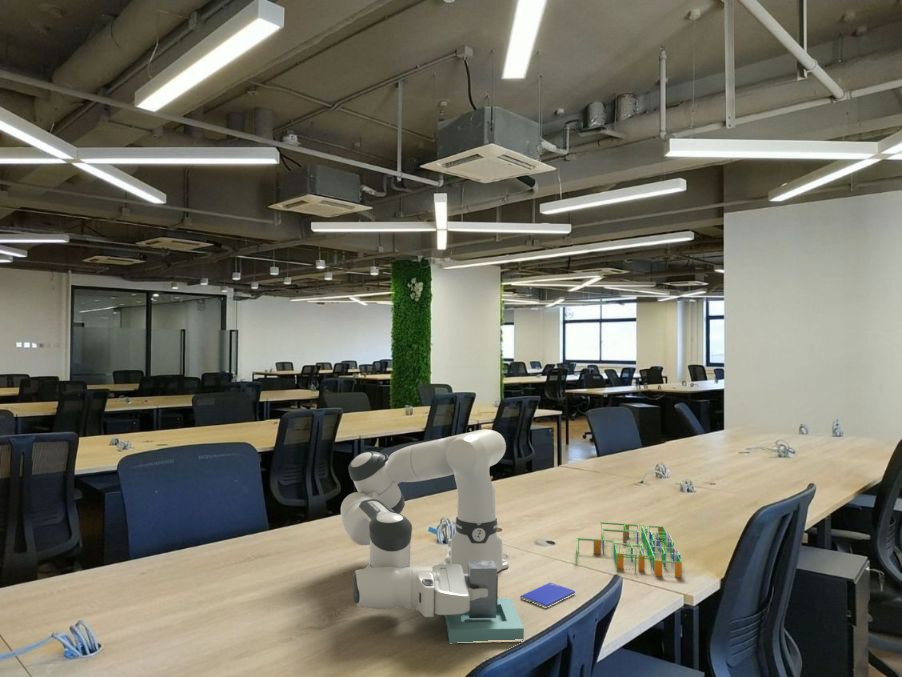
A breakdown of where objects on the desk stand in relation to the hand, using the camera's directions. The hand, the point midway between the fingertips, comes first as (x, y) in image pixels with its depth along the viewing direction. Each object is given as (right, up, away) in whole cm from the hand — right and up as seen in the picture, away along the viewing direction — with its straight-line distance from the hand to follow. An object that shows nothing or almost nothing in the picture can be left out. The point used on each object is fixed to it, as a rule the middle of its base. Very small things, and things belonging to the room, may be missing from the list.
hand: (485, 586), depth 138 cm
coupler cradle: (-1, -9, 0) cm, 9 cm away
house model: (+46, -11, +51) cm, 70 cm away
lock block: (-1, -6, 0) cm, 6 cm away
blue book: (+17, -10, +17) cm, 26 cm away
